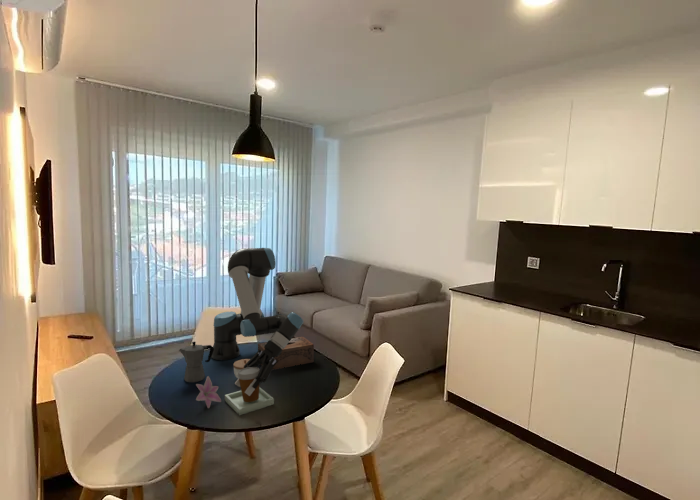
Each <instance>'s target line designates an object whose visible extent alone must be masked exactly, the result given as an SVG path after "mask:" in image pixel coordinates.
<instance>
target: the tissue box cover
mask: <svg viewBox="0 0 700 500" xmlns="http://www.w3.org/2000/svg"><path fill="white" fill-rule="evenodd" d="M267 342H268V341H265V342H259V343H257V351H258V350H261V351H264V350H265V347H264V346H265V345H266V343H267ZM314 349H315V347H314V343H313V342H311V341H310V340H309V339H307V337H304V336H298V337H293V338H292V339H291V340H290V341H289V343H288V344H287V345H286V347H285V348H284V349H283V348H282V352H281V354H280V355H279V356H278V357H276V356H275V358H274V359H275V360H276V361H277V363H276V365H275V366H274V367H273V369H272V371H274V369H275V370H280V369H285V368H290V367H294V366H295V365H296V366H300V364H301V365H306V364H311V363H314V354H315V353H314V351H315V350H314ZM260 365H261V366H262V364H260ZM284 367H285V368H284ZM279 368H280V369H279Z"/></svg>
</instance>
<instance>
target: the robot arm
mask: <svg viewBox="0 0 700 500" xmlns="http://www.w3.org/2000/svg"><path fill="white" fill-rule="evenodd" d="M276 262H277V261H276V256H275V254H274V251H273V250H272V249H271V248H270V247H256V248H255V247H254V248H253V247H252V248H251V247H250V248H247V247H246V248H240V249H238V250H236V251H235V252H233V254H232V255H231V256H230V258H229V260H228V263H227V273H228V276H229V278H230V279H231V280H232V282H233V286H234V289H235V290H234V291H235V293H236V297H237V300H238V303H239V304H238V305H239V308H240V313H236V312H235V311H224V312H221V313H218V314H217V315H215V316H214V318H213V345H212V347H213V348H214V351H213V354H212V357H211V359H212V360H217V361H228V360H232V359H235V358H237V357H239V356H240V352H241V351H240V350H241V349H240V347H239V345H238V344H239V343H238V341H237V336H240V335H241V336H243V337H246V338H247V337H256V336H261V335H270V334H272V335H271V336H270V339H269V340H267V341H266V342H267V343H266V345H265V346H264V347H265V350H264V351H261V350H258V349H257V352H256V353H255V354H254V355H253V356H252V357H251V358H249V359H250V360H249V361H248V362H247V363H246V364H245V365H244V368H249V367H257V368H258V366H260V365H261V364H262V365H261V367H260V368H259V369H260V371H259V374H258V376H257V377H255V379H254V380H253V382H252V383H251V384H250V386H249V387H248V388H247V389H246V391H245V393H246V394H247V395H249V396H250V395H251V394H252V392H253V391H254V390H255V389H256V388H257V386H258V385H259V384H260V385H261V383H266V382H267V379H268V378H269V376H270V374H271V372H272V371H273V370H272V369H273V367H274V366H275V365H276V363H277V361H276V360H275V359H274V358H275V356H276V357H278V356H279V355H280V354H281V352H282V348H283V349H284V348H285V347H286V345H287V344H288V343H289V341H290V340H291V339H292V338H294V336H295V335H296V334H297V333H298V331H299V330H300V329H301V326H302V325H303V324H304V322H305V321H304V319H303V318H302V317H301V316H300V315H299V314H297V313H296V312H293V311H291V312H290V313H288V314H287V316H286V315H285V314H281V313H277V314H274V315H272V316H265V314H264V312H263V311H262V310H261V305H262V300H263V294H264V289H265V284H266V279H267V277H268V276H269V275H270V274H271V273H270V271H273V270H275V268H276ZM256 379H257V380H256ZM234 384H235V385H236V386H237V387H239V388H241V386H240V382H239V378H237V380H236V381H235V382H234ZM260 385H259V386H260Z"/></svg>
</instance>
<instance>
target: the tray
mask: <svg viewBox="0 0 700 500" xmlns="http://www.w3.org/2000/svg"><path fill="white" fill-rule="evenodd" d="M224 401H225V403H226V404H227V405H228V406H229V407H230V408H231V409H233V411H235V413H236V414H237V415H238V416H242V415H245V414H248V413H249V414H250V413H252V412H254V411H258V410H260V409H263V408H264V409H265V408H266V407H270V406H272V405H274V404H275V398H274V397H273V396H272V395H271V394H269V393H268V392H266V391H265V390H264V389H263V388H261V387H260V386H259V399H258V400H256V401H253V402H244V401H243V396H242V391H241V390H238V391H234V392H231V393H227V394H224Z"/></svg>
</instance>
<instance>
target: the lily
mask: <svg viewBox="0 0 700 500" xmlns="http://www.w3.org/2000/svg"><path fill="white" fill-rule="evenodd" d="M205 379H206V380H205V382H204V384H200V383H196V384H195V386H196V387H197V388H198V390H199V393H198V395H197V396H196V399H195V401H198V402H201V401H202V402H203V401H204V403H205V404H206V407H207V409H210V407H211V403H212V402H217V403H222V399H221V397H220V396H219V394H218V393H217V391H218V389H220V388H219V386H217V385H213V382H212V380H211V378H210V376H209V375H208V376H206V378H205Z"/></svg>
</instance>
